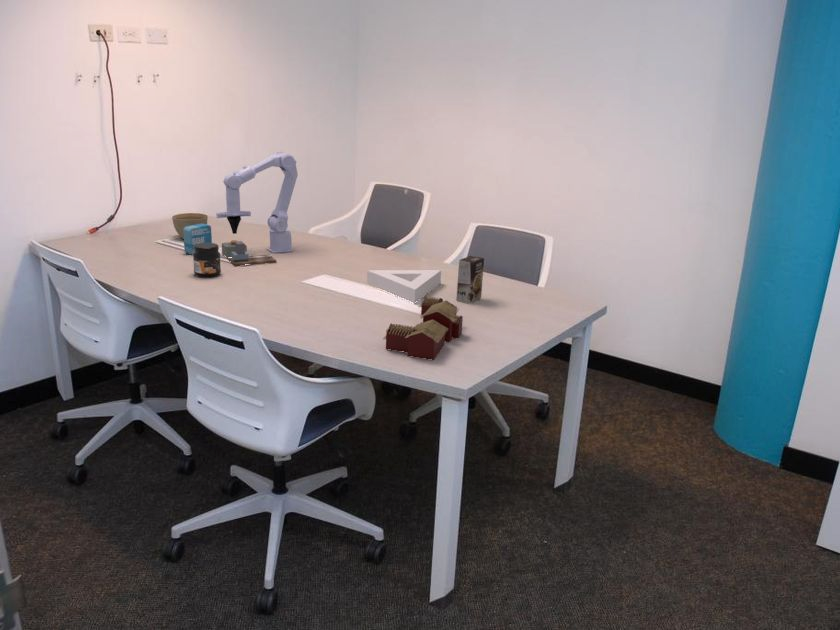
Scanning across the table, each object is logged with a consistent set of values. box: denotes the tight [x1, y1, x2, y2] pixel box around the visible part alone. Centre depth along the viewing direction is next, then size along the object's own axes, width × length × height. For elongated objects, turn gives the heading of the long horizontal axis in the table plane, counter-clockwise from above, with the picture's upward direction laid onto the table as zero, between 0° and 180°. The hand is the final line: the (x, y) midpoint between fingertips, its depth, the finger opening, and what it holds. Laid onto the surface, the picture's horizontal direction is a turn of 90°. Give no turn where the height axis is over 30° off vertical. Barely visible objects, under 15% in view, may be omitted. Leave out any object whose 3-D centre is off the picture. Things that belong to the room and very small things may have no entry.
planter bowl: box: [171, 212, 209, 240], centre depth 352 cm, size 16×16×11 cm
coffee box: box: [455, 255, 485, 305], centre depth 280 cm, size 9×6×16 cm
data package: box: [183, 224, 213, 256], centre depth 329 cm, size 12×4×12 cm, turn 147°
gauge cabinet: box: [221, 241, 248, 258], centre depth 328 cm, size 9×8×5 cm
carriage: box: [231, 240, 250, 261], centre depth 316 cm, size 6×6×7 cm
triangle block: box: [366, 269, 442, 303], centre depth 291 cm, size 30×26×6 cm
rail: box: [228, 254, 277, 267], centre depth 320 cm, size 18×10×2 cm, turn 118°
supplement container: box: [192, 242, 222, 278], centre depth 297 cm, size 10×10×12 cm
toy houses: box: [381, 295, 464, 361], centre depth 246 cm, size 45×20×10 cm, turn 164°
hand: (234, 233), depth 326 cm, fingers closed
